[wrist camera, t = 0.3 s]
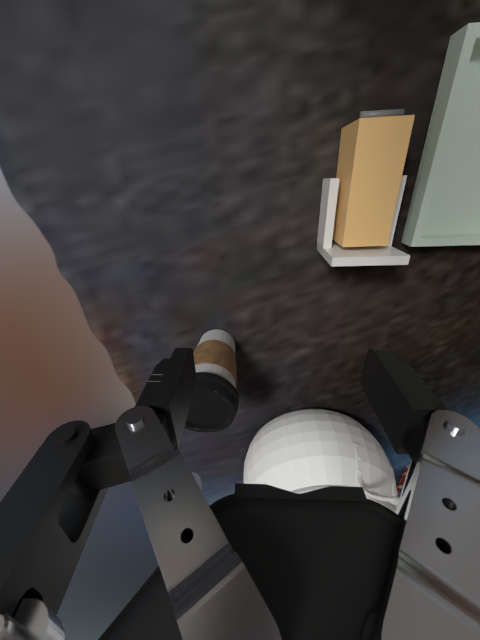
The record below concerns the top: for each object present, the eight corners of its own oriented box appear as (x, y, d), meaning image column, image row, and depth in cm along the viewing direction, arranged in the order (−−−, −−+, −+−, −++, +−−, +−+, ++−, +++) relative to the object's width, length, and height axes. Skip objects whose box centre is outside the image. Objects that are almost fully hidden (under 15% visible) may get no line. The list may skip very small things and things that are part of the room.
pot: (315, 369, 46) (345, 463, 31) (407, 439, 53) (469, 543, 38) (215, 449, 58) (202, 547, 42) (303, 498, 65) (318, 596, 49)
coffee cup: (200, 315, 42) (176, 377, 29) (250, 332, 43) (248, 400, 30) (186, 355, 46) (159, 426, 33) (232, 370, 47) (224, 445, 34)
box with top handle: (342, 120, 30) (361, 108, 25) (388, 117, 30) (417, 104, 24) (329, 237, 36) (342, 247, 31) (367, 235, 36) (387, 245, 30)
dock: (323, 178, 33) (342, 178, 26) (392, 175, 32) (431, 174, 25) (316, 249, 37) (331, 266, 30) (377, 247, 36) (408, 264, 29)
